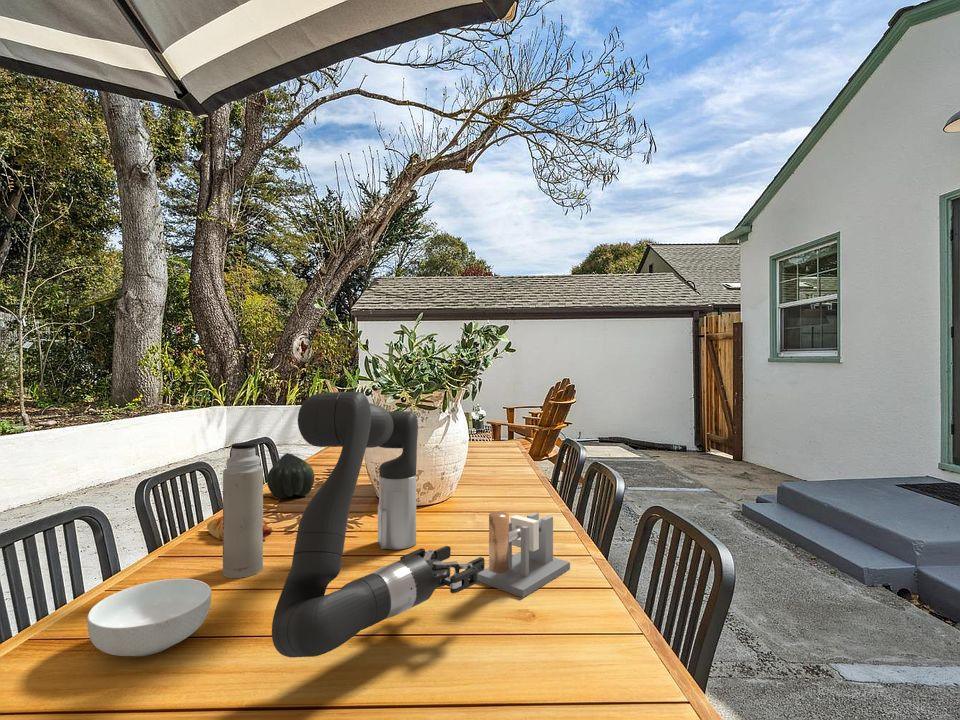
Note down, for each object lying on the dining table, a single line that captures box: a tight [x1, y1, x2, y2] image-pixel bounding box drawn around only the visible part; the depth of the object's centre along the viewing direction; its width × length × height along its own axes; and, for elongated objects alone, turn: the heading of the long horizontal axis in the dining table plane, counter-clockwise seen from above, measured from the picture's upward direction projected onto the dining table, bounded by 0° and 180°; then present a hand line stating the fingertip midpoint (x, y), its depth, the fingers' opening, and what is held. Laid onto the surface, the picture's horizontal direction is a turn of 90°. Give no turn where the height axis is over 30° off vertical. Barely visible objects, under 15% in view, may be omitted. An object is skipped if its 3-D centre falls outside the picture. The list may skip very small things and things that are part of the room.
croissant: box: [206, 515, 273, 541], centre depth 132 cm, size 21×10×8 cm, turn 71°
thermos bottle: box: [222, 441, 264, 579], centre depth 110 cm, size 8×8×28 cm
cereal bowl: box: [86, 578, 212, 657], centre depth 82 cm, size 17×17×7 cm
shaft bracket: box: [478, 511, 571, 599], centre depth 109 cm, size 18×12×12 cm, turn 140°
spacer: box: [510, 515, 539, 552], centre depth 109 cm, size 2×6×6 cm, turn 50°
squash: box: [266, 452, 315, 499], centre depth 172 cm, size 14×15×15 cm
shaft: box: [488, 511, 545, 573], centre depth 108 cm, size 19×4×11 cm, turn 140°
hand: (465, 556), depth 94 cm, fingers open, 8 cm apart
